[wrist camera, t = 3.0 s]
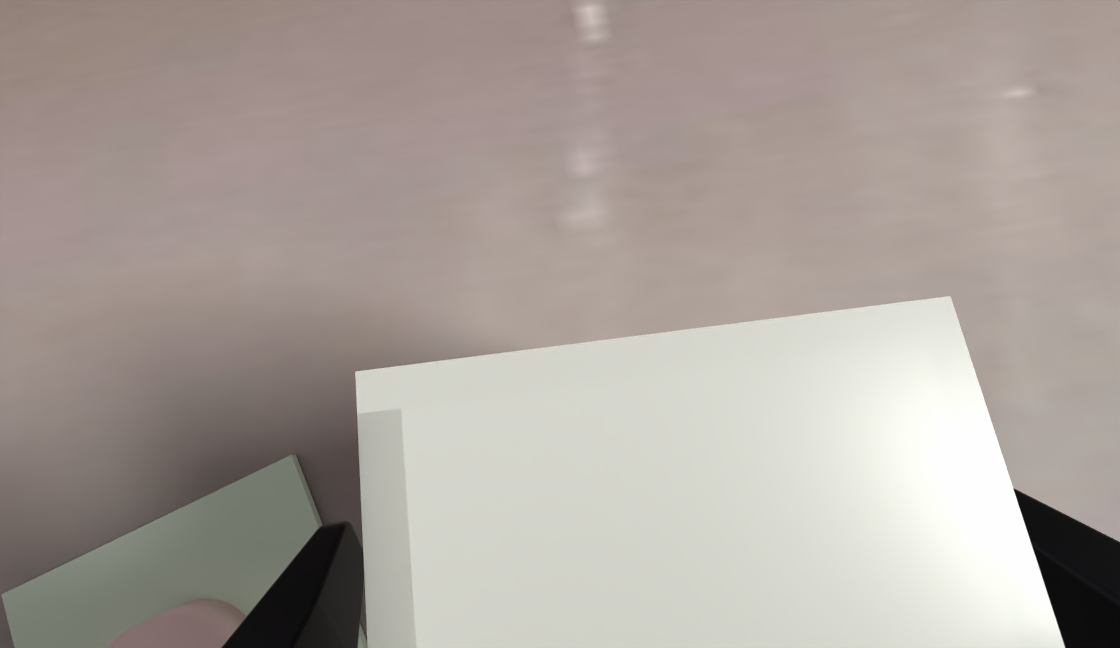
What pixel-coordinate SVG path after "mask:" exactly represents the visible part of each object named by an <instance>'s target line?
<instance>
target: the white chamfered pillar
mask: <svg viewBox="0 0 1120 648" xmlns="http://www.w3.org/2000/svg"><path fill="white" fill-rule="evenodd" d="M355 376H356V398H357V421H358V443H359V466H360V488H361V511H362V533H363V555H364V578H365V600H366V623H367V645H368V648H1065V646H1064V643H1063V640H1062V637H1061V633H1060V630H1059V627H1058V624H1057V621H1056V618H1055V615H1054V612H1053V609H1052V606H1051V603H1050V600H1049V597H1048V594H1047V591H1046V588H1045V585H1044V581H1043V578H1042V575H1041V572H1040V569H1039V566H1038V563H1037V560H1036V557H1035V554H1034V551H1033V548H1032V545H1031V542H1030V539H1029V536H1028V532H1027V529H1026V526H1025V523H1024V520H1023V517H1022V514H1021V511H1020V508H1019V505H1018V502H1017V499H1016V496H1015V493H1014V490H1013V487H1012V483H1011V480H1010V477H1009V474H1008V471H1007V468H1006V465H1005V462H1004V459H1003V456H1002V453H1001V450H1000V447H999V444H998V441H997V438H996V434H995V431H994V428H993V425H992V422H991V419H990V416H989V413H988V410H987V407H986V404H985V401H984V398H983V395H982V392H981V389H980V386H979V382H978V379H977V376H976V373H975V370H974V367H973V364H972V361H971V358H970V355H969V352H968V349H967V346H966V343H965V340H964V337H963V333H962V330H961V327H960V324H959V321H958V318H957V315H956V312H955V309H954V306H953V303H952V300H951V297H950V296H948V297H940V298H932V299H924V300H916V301H908V302H900V303H893V304H885V305H877V306H869V307H861V308H853V309H845V310H837V311H829V312H821V313H814V314H806V315H798V316H790V317H782V318H774V319H766V320H758V321H750V322H743V323H735V324H727V325H719V326H711V327H703V328H695V329H687V330H679V331H671V332H664V333H656V334H648V335H640V336H632V337H624V338H616V339H608V340H600V341H593V342H585V343H577V344H569V345H561V346H553V347H545V348H537V349H529V350H521V351H514V352H506V353H498V354H490V355H482V356H474V357H466V358H458V359H450V360H443V361H435V362H427V363H419V364H411V365H403V366H395V367H387V368H379V369H371V370H364V371H356V372H355Z"/></svg>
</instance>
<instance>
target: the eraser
mask: <svg viewBox="0 0 1120 648" xmlns="http://www.w3.org/2000/svg"><path fill="white" fill-rule="evenodd" d="M245 618H246V616H245V615H244V613H243V612H241V611H240V610H239V609H238V608H236V607H235V606H233V605H231V604H229V603H226V602H224V601H220V600H215V599H200V600H195V601H190V602H188V603H185V604H182V605H180V606H178V607H175V608H173V609H171V610H168V611H166V612H164V613H161V614H159V615H157V616H154V617H152V618H150V619H148V620H145V621H143V622H141V623H139V624H137V625H135V626H133V627H131V628H129V629H128V630H126V631H125V632H123V633H122V634H121V635H120V636H118V637H117V638H116V639H115V640H114V641H113V642H112V643H111V644H110V645H109V646H108V647H107V648H221V647H222V646H223V645H224V644H225V642H226V641H227V640H228V639H229V637H230V636H231V635H232V634H233V633H234V631H235V630H236V629H237V628H238V626H239V625H240V624H241V623H242V621H243V620H244V619H245Z"/></svg>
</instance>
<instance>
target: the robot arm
mask: <svg viewBox="0 0 1120 648" xmlns="http://www.w3.org/2000/svg"><path fill="white" fill-rule="evenodd" d="M1013 490H1014V493H1015V496H1016V499H1017V502H1018V505H1019V508H1020V511H1021V514H1022V517H1023V520H1024V523H1025V526H1026V529H1027V532H1028V536H1029V539H1030V542H1031V545H1032V548H1033V551H1034V554H1035V557H1036V560H1037V563H1038V566H1039V569H1040V572H1041V575H1042V578H1043V581H1044V585H1045V588H1046V591H1047V594H1048V597H1049V600H1050V603H1051V606H1052V609H1053V612H1054V615H1055V618H1056V621H1057V624H1058V627H1059V630H1060V633H1061V637H1062V640H1063V643H1064V646H1065V648H1120V542H1119V541H1117V540H1115V539H1113V538H1111V537H1109V536H1107V535H1105V534H1103V533H1101V532H1099V531H1097V530H1095V529H1093V528H1091V527H1089V526H1087V525H1085V524H1083V523H1081V522H1079V521H1077V520H1075V519H1073V518H1071V517H1069V516H1067V515H1065V514H1063V513H1061V512H1059V511H1057V510H1055V509H1053V508H1051V507H1049V506H1047V505H1046V504H1044V503H1042V502H1040V501H1038V500H1036V499H1034V498H1032V497H1030V496H1028V495H1026V494H1024V493H1022V492H1020V491H1018V490H1016V489H1014V488H1013ZM363 581H364V555H363V550H362V547H361V545H360V543H359V541H358V538H357V536H356V534H355V532H354V529H353V527H352V525H351V524H350V523H349V522H347V521H342V522H335V523H328V524H324V525H322V526H321V527H319V528H318V529H317V530H316V532H315V533H314V534H313V535H312V537H311V538H310V539H309V540H308V541H307V543H306V544H305V545H304V546H303V548H302V549H301V550H300V551H299V553H298V554H297V555H296V556H295V557H294V559H293V560H292V561H291V562H290V564H289V565H288V566H287V567H286V569H285V570H284V571H283V572H282V573H281V575H280V576H279V577H278V578H277V580H276V581H275V582H274V583H273V585H272V586H271V587H270V588H269V589H268V591H267V592H266V593H265V594H264V596H263V597H262V598H261V599H260V601H259V602H258V603H257V604H256V605H255V607H254V608H253V609H252V610H251V612H250V613H249V614H248V615H247V617H246V618H245V619H244V620H243V621H242V623H241V624H240V625H239V626H238V628H237V629H236V630H235V631H234V633H233V634H232V635H231V636H230V637H229V639H228V640H227V641H226V642H225V644H224V645H223V646H222V647H221V648H358V637H359V626H360V615H361V603H362V592H363Z"/></svg>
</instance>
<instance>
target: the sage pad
mask: <svg viewBox="0 0 1120 648" xmlns="http://www.w3.org/2000/svg"><path fill="white" fill-rule="evenodd" d="M321 526H322V522H321V519H320V517H319V514H318V511H317V509H316V506H315V504H314V501H313V498H312V496H311V493H310V490H309V488H308V485H307V483H306V480H305V477H304V475H303V472H302V469H301V467H300V464H299V462H298V459H297V456H296V455H290V456H287V457H285V458H283V459H281V460H279V461H277V462H275V463H273V464H271V465H269V466H267V467H265V468H263V469H260V470H258V471H256V472H254V473H252V474H250V475H248V476H246V477H244V478H242V479H240V480H238V481H236V482H233V483H231V484H229V485H227V486H225V487H223V488H221V489H219V490H217V491H215V492H213V493H211V494H209V495H207V496H204V497H202V498H200V499H198V500H196V501H194V502H192V503H190V504H188V505H186V506H184V507H182V508H180V509H177V510H175V511H173V512H171V513H169V514H167V515H165V516H163V517H161V518H159V519H157V520H155V521H153V522H150V523H148V524H146V525H144V526H142V527H140V528H138V529H136V530H134V531H132V532H130V533H128V534H126V535H124V536H121V537H119V538H117V539H115V540H113V541H111V542H109V543H107V544H105V545H103V546H101V547H99V548H97V549H94V550H92V551H90V552H88V553H86V554H84V555H82V556H80V557H78V558H76V559H74V560H72V561H70V562H68V563H65V564H63V565H61V566H59V567H57V568H55V569H53V570H51V571H49V572H47V573H45V574H43V575H41V576H38V577H36V578H34V579H32V580H30V581H28V582H26V583H24V584H22V585H20V586H18V587H16V588H14V589H11V590H9V591H7V592H5V593H3V594H1V596H2V600H3V604H4V608H5V612H6V616H7V620H8V624H9V628H10V632H11V636H12V640H13V644H14V648H107V647H108V646H109V645H110V644H111V643H112V642H113V641H114V640H115V639H116V638H117V637H118V636H120V635H121V634H122V633H123V632H125V631H126V630H128V629H129V628H131V627H133V626H135V625H137V624H139V623H141V622H143V621H145V620H148V619H150V618H152V617H154V616H157V615H159V614H161V613H164V612H166V611H168V610H171V609H173V608H175V607H178V606H180V605H182V604H185V603H188V602H190V601H195V600H200V599H215V600H220V601H224V602H226V603H229V604H231V605H233V606H235V607H236V608H238V609H239V610H240V611H241V612H243V613H244V615H245V616H246V617H247V615H248V614H249V613H250V612H251V610H252V609H253V608H254V607H255V605H256V604H257V603H258V602H259V601H260V599H261V598H262V597H263V596H264V594H265V593H266V592H267V591H268V589H269V588H270V587H271V586H272V585H273V583H274V582H275V581H276V580H277V578H278V577H279V576H280V575H281V573H282V572H283V571H284V570H285V569H286V567H287V566H288V565H289V564H290V562H291V561H292V560H293V559H294V557H295V556H296V555H297V554H298V553H299V551H300V550H301V549H302V548H303V546H304V545H305V544H306V543H307V541H308V540H309V539H310V538H311V537H312V535H313V534H314V533H315V532H316V530H317V529H318V528H319V527H321ZM358 648H368V645H367V640H366V638H365V635H364V632H363V630H362V627H361V624H360V626H359V637H358Z"/></svg>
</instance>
